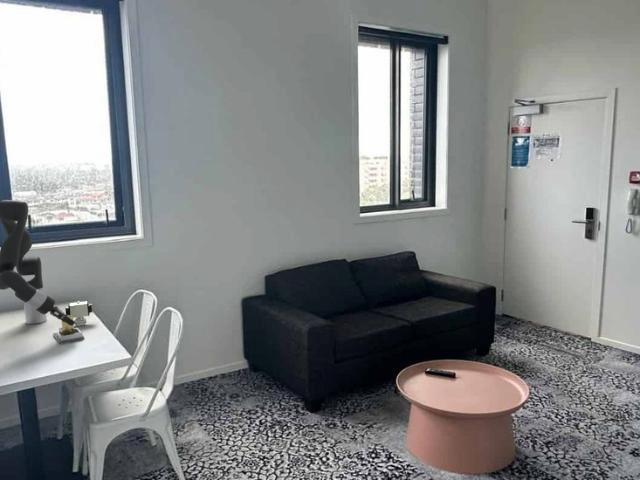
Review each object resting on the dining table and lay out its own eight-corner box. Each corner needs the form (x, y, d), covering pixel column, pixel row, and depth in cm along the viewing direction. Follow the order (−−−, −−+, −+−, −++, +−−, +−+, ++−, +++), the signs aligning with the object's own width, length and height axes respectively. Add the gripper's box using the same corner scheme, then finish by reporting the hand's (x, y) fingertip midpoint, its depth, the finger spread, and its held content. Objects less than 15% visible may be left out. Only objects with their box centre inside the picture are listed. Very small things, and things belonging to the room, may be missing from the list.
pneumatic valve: (93, 324, 257) (91, 300, 255) (67, 328, 252) (64, 303, 250) (93, 321, 262) (91, 298, 260) (67, 325, 257) (65, 301, 255)
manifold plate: (53, 335, 241) (52, 329, 240) (76, 331, 247) (75, 324, 246) (59, 344, 229) (59, 337, 228) (84, 339, 235) (83, 332, 234)
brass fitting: (61, 336, 236) (59, 316, 234) (74, 333, 239) (72, 314, 238) (63, 339, 231) (61, 319, 230) (76, 336, 235) (74, 317, 233)
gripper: (49, 297, 222) (81, 318, 231) (43, 291, 234) (73, 311, 242) (36, 312, 220) (69, 332, 228) (31, 305, 231) (62, 325, 240)
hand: (71, 321), depth 235 cm, fingers open, 8 cm apart
